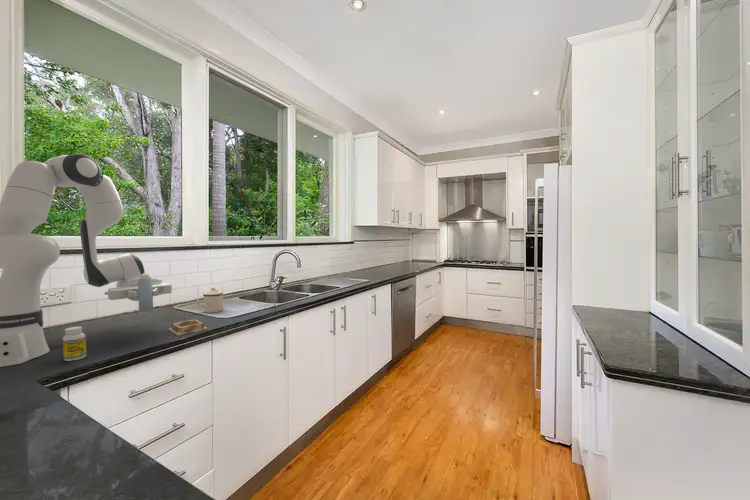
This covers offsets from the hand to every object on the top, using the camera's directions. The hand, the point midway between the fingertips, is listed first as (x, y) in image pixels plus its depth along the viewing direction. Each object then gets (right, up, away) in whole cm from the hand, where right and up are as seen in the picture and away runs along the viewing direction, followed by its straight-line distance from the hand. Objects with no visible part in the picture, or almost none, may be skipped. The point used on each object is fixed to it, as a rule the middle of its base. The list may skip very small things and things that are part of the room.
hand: (146, 293), depth 124 cm
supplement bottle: (-10, -18, -18) cm, 28 cm away
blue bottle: (-1, -6, +1) cm, 7 cm away
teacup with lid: (+2, -15, +44) cm, 46 cm away
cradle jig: (+9, -16, +12) cm, 22 cm away
